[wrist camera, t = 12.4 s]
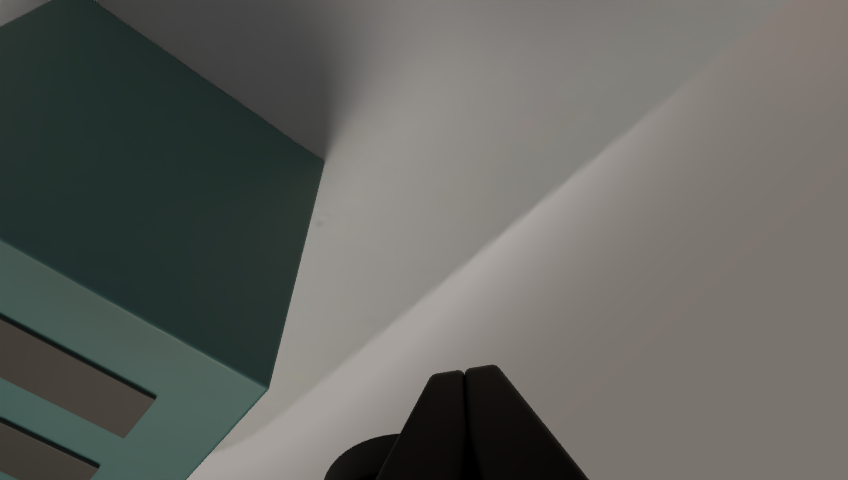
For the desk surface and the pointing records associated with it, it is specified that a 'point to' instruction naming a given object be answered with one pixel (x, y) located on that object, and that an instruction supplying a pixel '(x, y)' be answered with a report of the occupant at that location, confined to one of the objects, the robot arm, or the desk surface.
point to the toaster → (134, 251)
